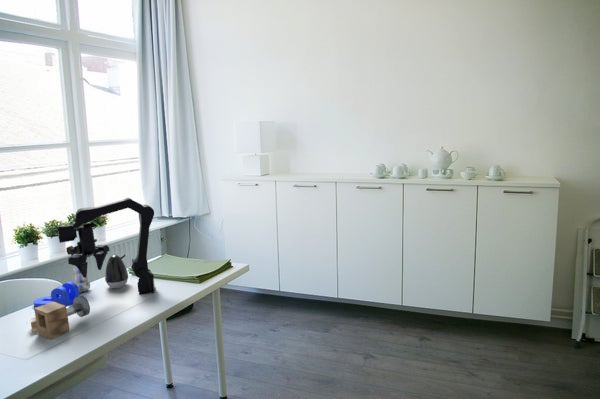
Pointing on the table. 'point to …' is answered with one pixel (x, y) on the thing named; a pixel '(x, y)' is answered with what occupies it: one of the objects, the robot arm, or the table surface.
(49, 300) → the bracket
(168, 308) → the table surface
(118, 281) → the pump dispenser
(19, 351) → the table surface
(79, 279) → the plastic bottle
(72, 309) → the shaft
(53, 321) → the bearing block
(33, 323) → the spacer block
